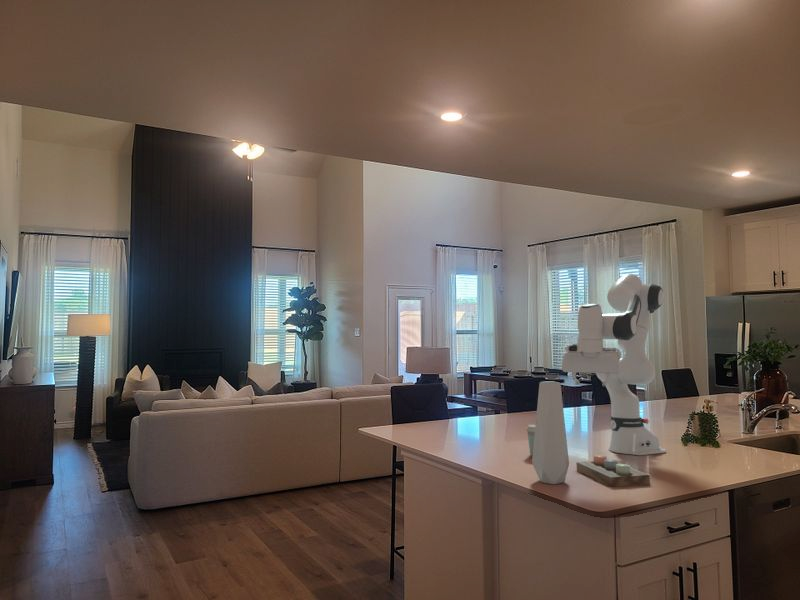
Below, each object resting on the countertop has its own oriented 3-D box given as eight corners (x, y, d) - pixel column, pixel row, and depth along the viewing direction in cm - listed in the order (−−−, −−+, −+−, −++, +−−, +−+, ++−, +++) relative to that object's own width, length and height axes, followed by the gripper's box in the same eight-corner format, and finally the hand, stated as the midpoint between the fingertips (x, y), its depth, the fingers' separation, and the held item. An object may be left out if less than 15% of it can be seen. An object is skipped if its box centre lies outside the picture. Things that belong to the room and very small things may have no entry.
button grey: (613, 467, 192) (613, 459, 193) (620, 470, 188) (620, 461, 188) (601, 468, 192) (601, 459, 192) (609, 471, 187) (608, 462, 187)
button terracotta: (602, 463, 199) (602, 454, 199) (609, 466, 195) (609, 457, 195) (591, 463, 198) (591, 455, 199) (597, 466, 194) (597, 458, 194)
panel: (611, 468, 202) (611, 460, 202) (649, 484, 180) (649, 474, 180) (576, 470, 199) (576, 461, 199) (610, 486, 178) (610, 477, 178)
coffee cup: (549, 458, 219) (548, 427, 220) (527, 457, 221) (526, 427, 221) (548, 453, 227) (547, 424, 228) (526, 453, 229) (526, 423, 230)
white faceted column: (578, 485, 180) (575, 383, 182) (545, 487, 177) (543, 384, 180) (560, 475, 192) (557, 380, 194) (529, 477, 189) (527, 381, 191)
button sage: (625, 472, 186) (624, 463, 186) (633, 475, 181) (632, 466, 181) (613, 473, 185) (613, 464, 185) (621, 476, 180) (620, 467, 181)
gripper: (620, 348, 202) (621, 386, 201) (562, 347, 209) (563, 383, 208) (620, 348, 196) (621, 387, 195) (561, 347, 204) (561, 384, 202)
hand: (590, 385), depth 202 cm, fingers open, 8 cm apart
